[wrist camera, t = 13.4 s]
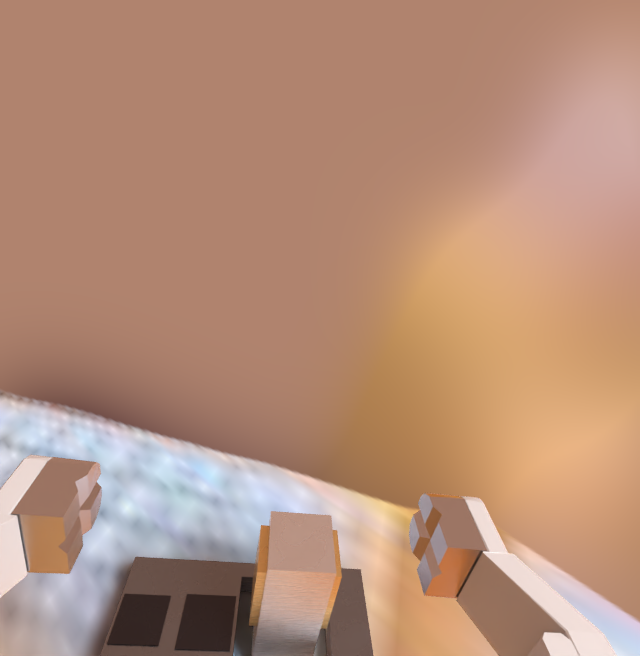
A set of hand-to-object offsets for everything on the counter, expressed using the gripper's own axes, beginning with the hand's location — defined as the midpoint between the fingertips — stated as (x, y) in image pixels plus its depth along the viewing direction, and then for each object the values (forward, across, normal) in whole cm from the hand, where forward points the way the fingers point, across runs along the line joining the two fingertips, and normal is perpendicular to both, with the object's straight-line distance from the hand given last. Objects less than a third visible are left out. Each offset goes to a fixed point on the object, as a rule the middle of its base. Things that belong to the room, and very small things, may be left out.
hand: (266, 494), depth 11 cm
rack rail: (+12, -1, +29) cm, 32 cm away
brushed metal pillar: (+12, -4, +29) cm, 32 cm away
